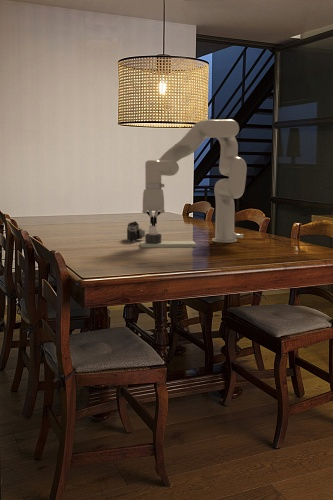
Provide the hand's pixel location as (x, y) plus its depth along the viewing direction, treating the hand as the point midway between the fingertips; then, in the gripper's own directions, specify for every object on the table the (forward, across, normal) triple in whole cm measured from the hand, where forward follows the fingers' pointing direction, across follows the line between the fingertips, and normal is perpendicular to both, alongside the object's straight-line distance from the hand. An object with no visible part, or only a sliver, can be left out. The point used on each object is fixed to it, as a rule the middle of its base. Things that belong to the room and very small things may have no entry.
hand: (153, 225), depth 271 cm
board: (+10, -7, 0) cm, 12 cm away
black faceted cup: (+8, 0, 0) cm, 8 cm away
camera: (+10, +8, -18) cm, 23 cm away
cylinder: (+7, 0, 0) cm, 7 cm away
